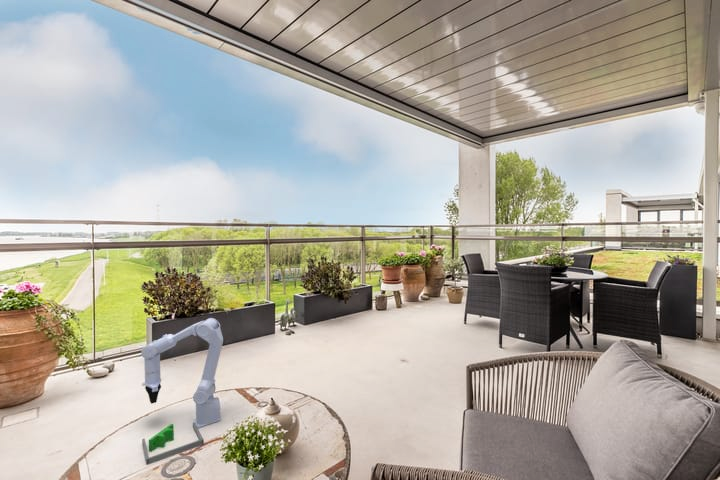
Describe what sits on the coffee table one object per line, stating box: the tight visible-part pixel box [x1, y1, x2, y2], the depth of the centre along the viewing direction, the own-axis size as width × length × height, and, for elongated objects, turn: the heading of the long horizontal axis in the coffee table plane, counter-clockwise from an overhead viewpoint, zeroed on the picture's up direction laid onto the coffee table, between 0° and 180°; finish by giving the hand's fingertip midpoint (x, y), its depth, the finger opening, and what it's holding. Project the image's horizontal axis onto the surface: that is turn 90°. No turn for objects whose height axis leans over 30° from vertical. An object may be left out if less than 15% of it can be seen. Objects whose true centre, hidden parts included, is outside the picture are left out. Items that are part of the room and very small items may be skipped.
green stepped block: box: [148, 423, 175, 453], centre depth 132 cm, size 11×4×5 cm, turn 168°
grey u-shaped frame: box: [141, 421, 205, 465], centre depth 132 cm, size 19×16×2 cm
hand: (153, 402), depth 146 cm, fingers closed
